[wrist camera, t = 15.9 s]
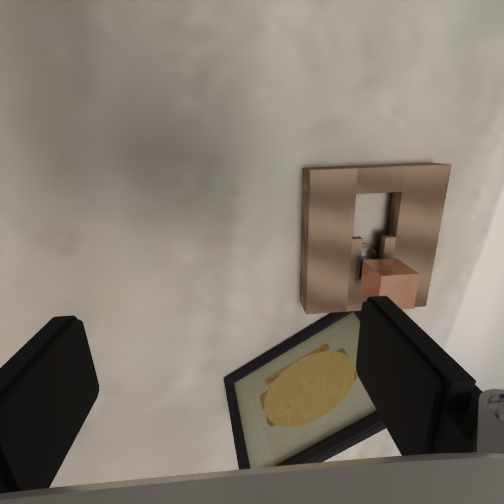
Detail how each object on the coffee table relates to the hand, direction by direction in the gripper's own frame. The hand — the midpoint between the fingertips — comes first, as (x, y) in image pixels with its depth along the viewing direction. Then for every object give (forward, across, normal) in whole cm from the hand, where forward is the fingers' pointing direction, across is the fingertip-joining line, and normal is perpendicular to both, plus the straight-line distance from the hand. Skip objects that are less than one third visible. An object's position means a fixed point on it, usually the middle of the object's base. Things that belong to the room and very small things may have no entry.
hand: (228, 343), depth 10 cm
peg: (+28, -17, +9) cm, 34 cm away
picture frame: (+29, -10, +24) cm, 39 cm away
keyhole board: (+28, -17, +6) cm, 33 cm away
